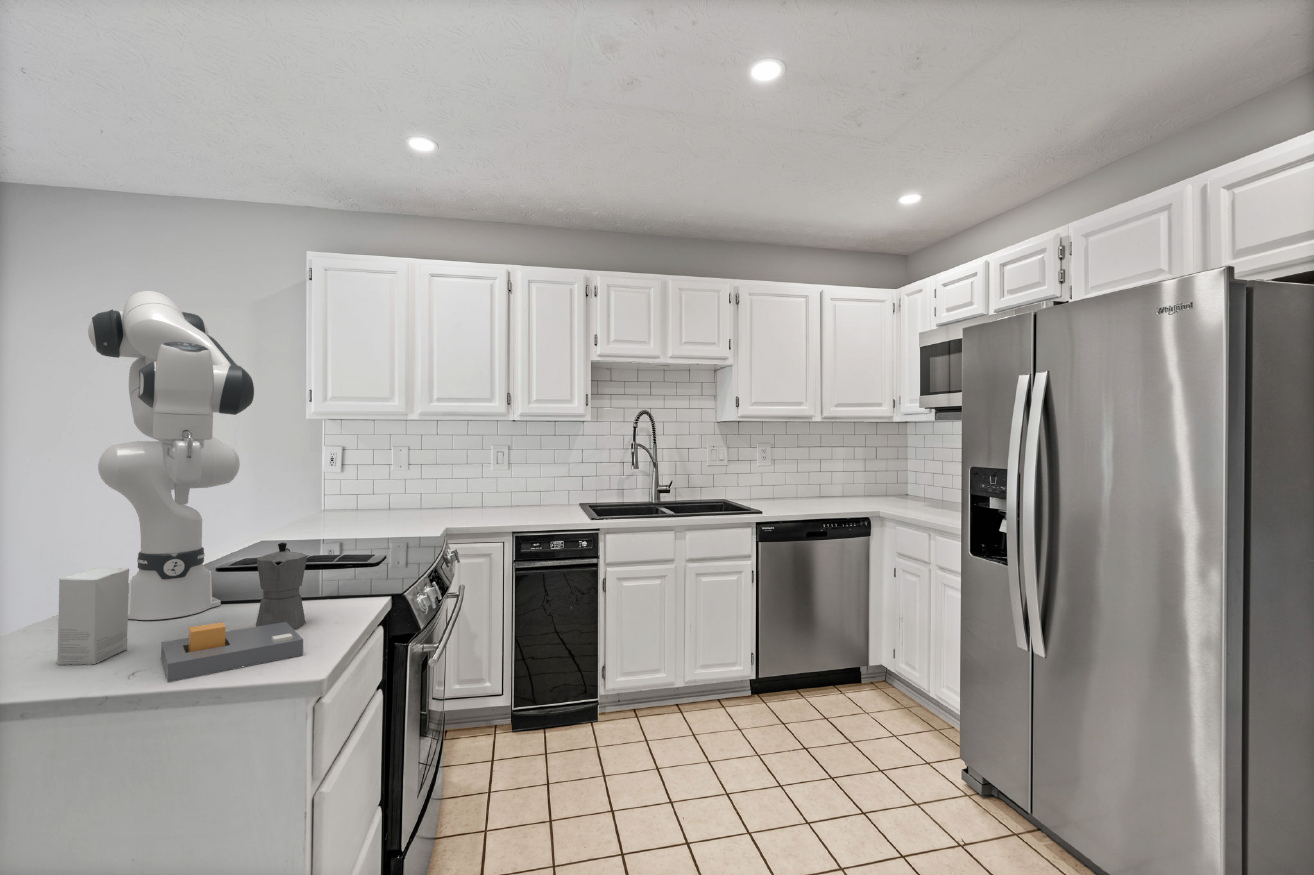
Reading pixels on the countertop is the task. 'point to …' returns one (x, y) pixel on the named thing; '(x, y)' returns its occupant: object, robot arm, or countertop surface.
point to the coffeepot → (281, 587)
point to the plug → (206, 637)
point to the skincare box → (92, 615)
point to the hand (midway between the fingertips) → (181, 503)
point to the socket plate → (231, 651)
